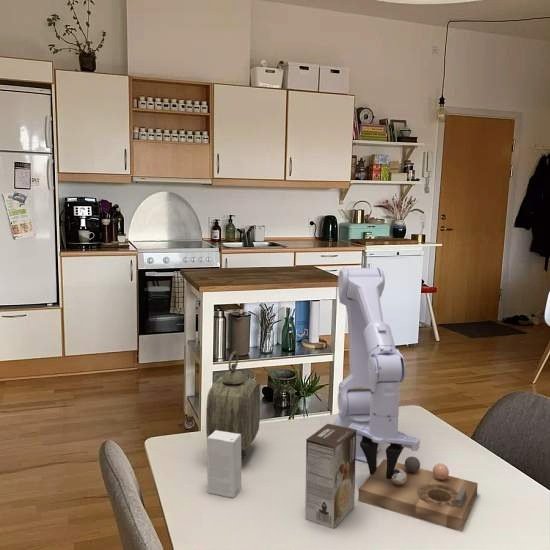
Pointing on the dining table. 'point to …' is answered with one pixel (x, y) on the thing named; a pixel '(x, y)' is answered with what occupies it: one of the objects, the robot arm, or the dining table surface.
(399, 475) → the steel ball
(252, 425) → the ribbed lantern with ring
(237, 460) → the skincare box
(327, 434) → the coffee box
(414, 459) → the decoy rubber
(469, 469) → the dining table surface
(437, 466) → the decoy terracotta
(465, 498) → the bore plate
